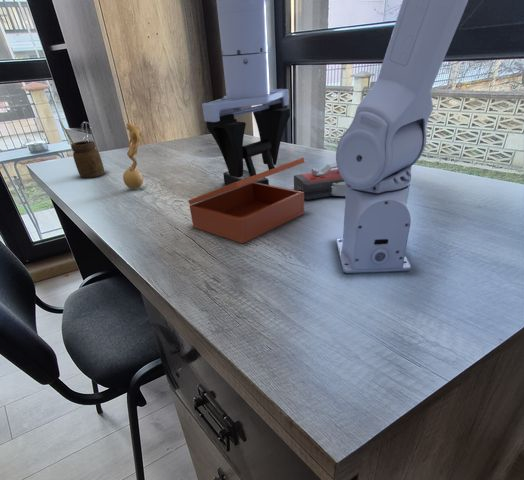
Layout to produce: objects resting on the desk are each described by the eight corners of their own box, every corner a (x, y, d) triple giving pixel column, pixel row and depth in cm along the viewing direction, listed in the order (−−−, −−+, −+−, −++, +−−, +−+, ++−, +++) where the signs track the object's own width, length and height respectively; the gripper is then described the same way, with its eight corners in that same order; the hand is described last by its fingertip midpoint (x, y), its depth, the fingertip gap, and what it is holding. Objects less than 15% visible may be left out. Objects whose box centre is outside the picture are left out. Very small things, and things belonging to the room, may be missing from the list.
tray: (304, 213, 64) (304, 191, 61) (242, 243, 56) (240, 220, 54) (254, 201, 70) (252, 181, 68) (193, 227, 62) (189, 205, 60)
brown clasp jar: (107, 175, 92) (89, 117, 84) (79, 180, 90) (59, 121, 83) (103, 170, 96) (87, 114, 89) (77, 174, 94) (58, 118, 87)
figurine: (123, 185, 84) (105, 122, 76) (150, 180, 86) (136, 118, 78) (129, 195, 78) (110, 128, 70) (158, 190, 80) (143, 123, 72)
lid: (304, 162, 59) (296, 128, 57) (237, 187, 51) (224, 149, 49) (253, 181, 68) (244, 152, 66) (189, 205, 60) (177, 173, 58)
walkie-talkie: (302, 205, 67) (406, 189, 70) (302, 179, 64) (410, 162, 67) (286, 191, 73) (382, 176, 77) (286, 166, 70) (385, 152, 74)
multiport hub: (242, 179, 82) (241, 168, 80) (270, 191, 74) (269, 178, 73) (223, 184, 80) (222, 172, 78) (250, 196, 72) (249, 183, 71)
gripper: (260, 51, 54) (266, 156, 63) (179, 60, 47) (198, 178, 55) (300, 48, 50) (300, 161, 59) (218, 58, 43) (232, 185, 51)
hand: (253, 170), depth 57 cm, fingers open, 7 cm apart
